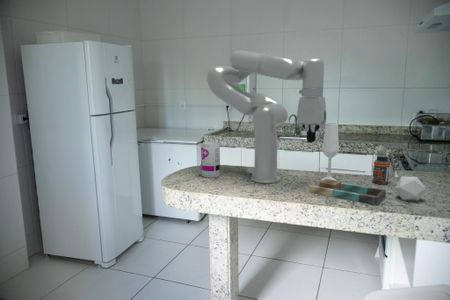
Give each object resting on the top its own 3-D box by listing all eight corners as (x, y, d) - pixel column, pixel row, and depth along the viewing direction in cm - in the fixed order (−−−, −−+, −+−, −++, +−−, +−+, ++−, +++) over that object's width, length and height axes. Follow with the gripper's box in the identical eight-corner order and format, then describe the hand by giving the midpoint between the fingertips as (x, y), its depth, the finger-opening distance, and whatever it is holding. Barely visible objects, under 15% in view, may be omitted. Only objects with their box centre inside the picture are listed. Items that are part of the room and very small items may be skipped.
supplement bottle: (370, 183, 134) (372, 156, 132) (373, 180, 139) (375, 153, 137) (386, 185, 130) (388, 157, 128) (389, 182, 135) (391, 155, 133)
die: (419, 207, 108) (434, 182, 109) (395, 192, 110) (410, 168, 111) (409, 207, 116) (423, 184, 117) (387, 193, 118) (401, 171, 119)
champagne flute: (319, 181, 136) (322, 124, 132) (321, 177, 143) (323, 122, 138) (336, 183, 134) (340, 124, 130) (337, 179, 140) (340, 123, 136)
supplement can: (206, 179, 141) (206, 144, 139) (198, 175, 148) (198, 142, 146) (223, 176, 145) (222, 143, 143) (214, 172, 152) (214, 140, 150)
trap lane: (308, 192, 122) (308, 185, 122) (320, 185, 131) (320, 179, 131) (377, 205, 108) (377, 198, 107) (385, 196, 117) (386, 190, 116)
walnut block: (318, 192, 123) (319, 182, 122) (325, 188, 127) (326, 178, 127) (334, 195, 119) (334, 185, 118) (340, 191, 123) (341, 181, 123)
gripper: (289, 93, 123) (288, 141, 127) (328, 93, 114) (326, 145, 117) (298, 93, 129) (297, 139, 132) (336, 93, 120) (333, 142, 123)
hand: (310, 142), depth 125 cm, fingers closed
